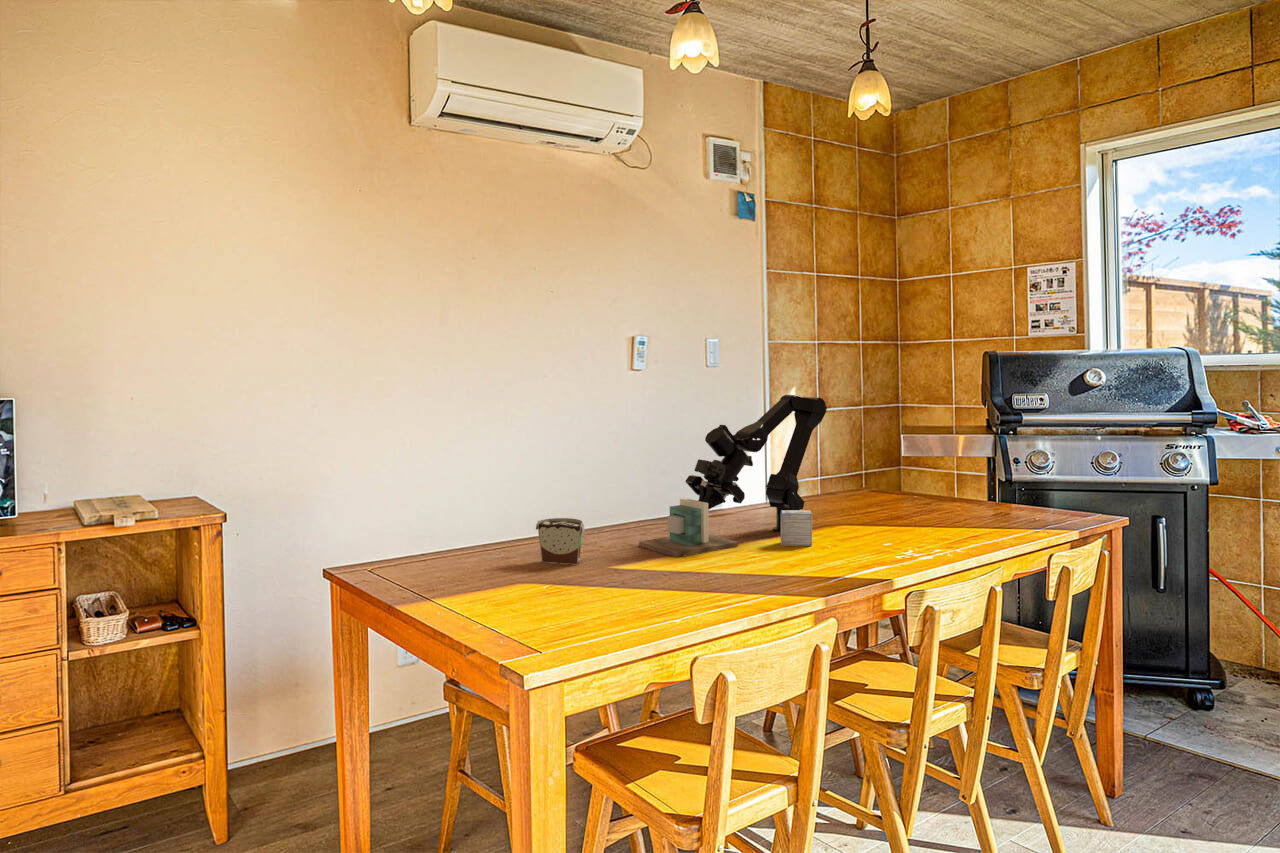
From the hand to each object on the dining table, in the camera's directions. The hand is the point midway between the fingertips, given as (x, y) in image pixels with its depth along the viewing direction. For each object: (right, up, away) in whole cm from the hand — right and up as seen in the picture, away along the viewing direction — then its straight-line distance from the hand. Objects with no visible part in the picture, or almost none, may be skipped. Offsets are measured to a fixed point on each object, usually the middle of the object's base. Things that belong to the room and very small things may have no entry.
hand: (697, 513), depth 222 cm
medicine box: (+26, -8, 0) cm, 27 cm away
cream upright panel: (-3, -7, -2) cm, 8 cm away
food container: (-33, -10, -16) cm, 38 cm away
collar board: (-1, -8, 0) cm, 8 cm away
